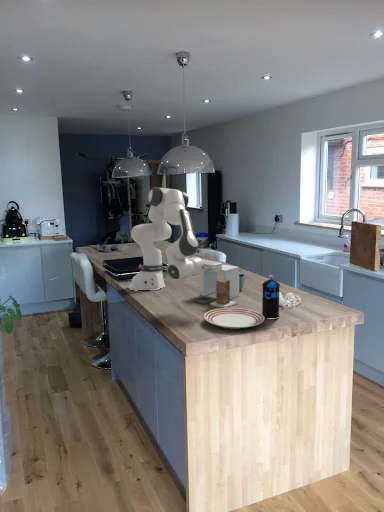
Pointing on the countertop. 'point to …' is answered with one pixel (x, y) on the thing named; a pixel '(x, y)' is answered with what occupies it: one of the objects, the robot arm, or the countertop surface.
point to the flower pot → (241, 281)
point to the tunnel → (229, 274)
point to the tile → (223, 305)
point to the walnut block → (223, 291)
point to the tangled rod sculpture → (290, 297)
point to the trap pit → (204, 299)
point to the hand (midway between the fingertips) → (213, 261)
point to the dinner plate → (234, 318)
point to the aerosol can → (270, 298)
